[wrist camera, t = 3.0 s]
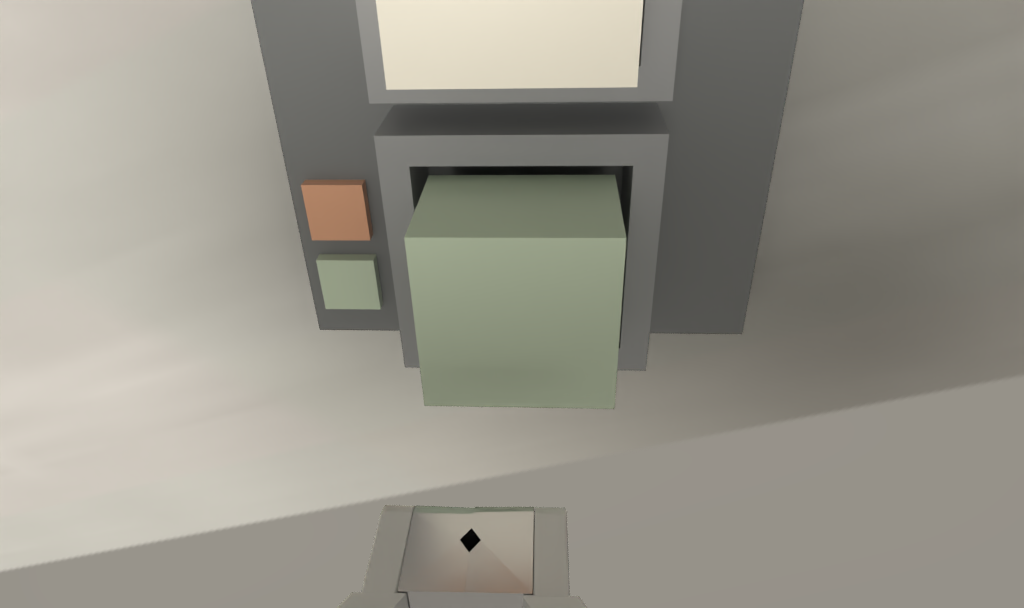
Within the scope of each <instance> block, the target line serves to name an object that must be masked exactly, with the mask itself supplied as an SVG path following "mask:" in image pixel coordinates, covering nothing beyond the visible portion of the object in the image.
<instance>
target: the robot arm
mask: <svg viewBox="0 0 1024 608" xmlns="http://www.w3.org/2000/svg"><path fill="white" fill-rule="evenodd" d="M569 589H570V586H569V560H568V533H567V512H566V509H565V508H542V507H539V508H538V507H535V526H534V507H475V508H463V507H461V508H460V507H437V506H400V505H399V506H398V505H397V506H396V505H385V506H384V508H383V510H382V512H381V514H380V517H379V522H378V526H377V530H376V534H375V538H374V542H373V546H372V550H371V554H370V558H369V562H368V566H367V570H366V574H365V578H364V583H363V586H362V590H361V592H352V593H351V594H350V595H349V596H348V597H347V598H346V599H345V600H344V601H343V602H342V603H341V604H340V605H339V606H338V607H337V608H587V606H586V605H585V604H584V602H583V601H582V600H581V598H580V597H579V596H570V590H569Z"/></svg>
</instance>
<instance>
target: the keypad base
mask: <svg viewBox="0 0 1024 608" xmlns="http://www.w3.org/2000/svg"><path fill="white" fill-rule="evenodd" d="M803 3H804V0H643V12H642V27H641V41H640V55H639V69H638V83H637V87H616V88H513V89H411V90H386V82H385V74H384V65H383V57H382V49H381V41H380V32H379V24H378V16H377V7H376V0H251V4H252V9H253V13H254V18H255V23H256V28H257V32H258V37H259V42H260V47H261V51H262V56H263V61H264V66H265V71H266V75H267V80H268V85H269V90H270V94H271V99H272V104H273V109H274V113H275V118H276V123H277V128H278V132H279V137H280V142H281V147H282V152H283V156H284V161H285V166H286V171H287V175H288V180H289V185H290V190H291V194H292V199H293V204H294V209H295V213H296V218H297V223H298V228H299V233H300V237H301V242H302V247H303V252H304V256H305V261H306V266H307V271H308V275H309V280H310V285H311V290H312V294H313V299H314V304H315V309H316V314H317V318H318V323H319V328H320V330H398V331H400V334H401V342H402V349H403V357H404V364H405V367H417V368H420V364H419V356H418V348H417V339H416V331H415V323H414V314H413V306H412V298H411V289H410V281H409V273H408V265H407V256H406V248H405V240H404V237H405V234H406V232H407V229H408V227H409V224H410V222H411V219H412V217H413V214H414V211H415V209H416V206H417V204H418V201H419V199H420V196H421V194H422V191H423V189H424V186H425V183H426V181H427V178H428V176H429V175H615V177H616V183H617V188H618V194H619V199H620V205H621V210H622V216H623V222H624V227H625V233H626V252H625V266H624V280H623V294H622V308H621V323H620V337H619V351H618V365H617V370H640V371H646V364H647V354H648V344H649V333H688V334H742V332H743V326H744V321H745V315H746V310H747V305H748V299H749V294H750V289H751V283H752V278H753V272H754V267H755V262H756V256H757V251H758V245H759V240H760V235H761V229H762V224H763V219H764V213H765V208H766V202H767V197H768V192H769V186H770V181H771V176H772V170H773V165H774V159H775V154H776V149H777V143H778V138H779V133H780V127H781V122H782V116H783V111H784V106H785V100H786V95H787V89H788V84H789V79H790V73H791V68H792V63H793V57H794V52H795V46H796V41H797V36H798V30H799V25H800V20H801V14H802V9H803Z"/></svg>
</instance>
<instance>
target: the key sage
mask: <svg viewBox="0 0 1024 608" xmlns="http://www.w3.org/2000/svg"><path fill="white" fill-rule="evenodd" d="M404 240H405V248H406V256H407V265H408V273H409V281H410V289H411V298H412V306H413V314H414V323H415V331H416V339H417V348H418V356H419V364H420V372H421V381H422V389H423V397H424V406H470V407H530V408H591V409H614V407H615V393H616V379H617V365H618V351H619V337H620V323H621V308H622V294H623V280H624V266H625V252H626V233H625V227H624V222H623V216H622V210H621V205H620V199H619V194H618V188H617V183H616V177H615V175H429V176H428V178H427V181H426V183H425V186H424V189H423V191H422V194H421V196H420V199H419V201H418V204H417V206H416V209H415V211H414V214H413V217H412V219H411V222H410V224H409V227H408V229H407V232H406V234H405V237H404Z"/></svg>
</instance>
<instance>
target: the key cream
mask: <svg viewBox="0 0 1024 608" xmlns="http://www.w3.org/2000/svg"><path fill="white" fill-rule="evenodd" d="M376 7H377V16H378V24H379V32H380V41H381V49H382V57H383V65H384V74H385V82H386V90H411V89H513V88H616V87H637V83H638V69H639V55H640V41H641V27H642V12H643V0H376Z"/></svg>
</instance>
